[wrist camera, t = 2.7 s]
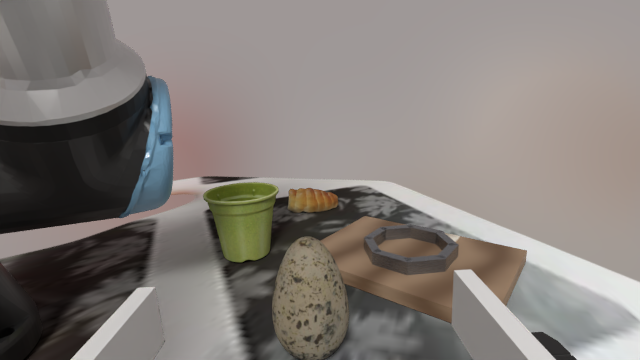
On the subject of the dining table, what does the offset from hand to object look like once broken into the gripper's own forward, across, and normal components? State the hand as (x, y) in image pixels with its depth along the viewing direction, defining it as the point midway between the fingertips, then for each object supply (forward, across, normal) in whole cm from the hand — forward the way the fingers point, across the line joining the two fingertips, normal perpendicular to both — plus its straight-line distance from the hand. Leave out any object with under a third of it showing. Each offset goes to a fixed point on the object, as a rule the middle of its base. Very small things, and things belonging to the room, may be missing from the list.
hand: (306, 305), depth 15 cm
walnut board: (+24, +11, -11) cm, 29 cm away
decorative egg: (+10, 0, -11) cm, 15 cm away
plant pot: (+30, -9, -11) cm, 33 cm away
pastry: (+48, -1, -11) cm, 49 cm away
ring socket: (+24, +11, -9) cm, 28 cm away
